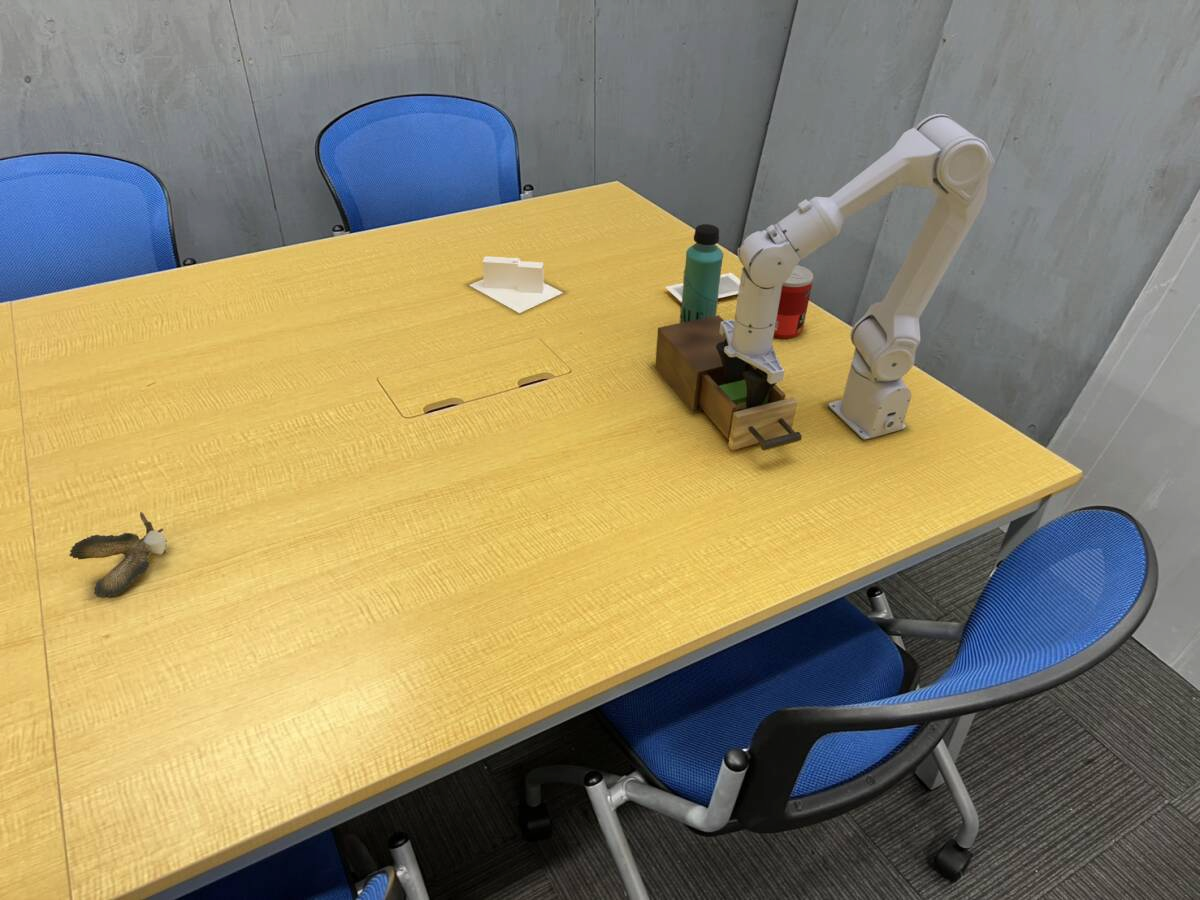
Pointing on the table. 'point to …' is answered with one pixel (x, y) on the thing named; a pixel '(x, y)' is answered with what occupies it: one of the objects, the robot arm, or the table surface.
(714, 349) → the cabinet
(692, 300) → the beverage bottle
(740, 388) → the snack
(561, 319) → the table surface
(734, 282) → the touchpad
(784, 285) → the canned food
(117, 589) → the eagle figurine
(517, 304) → the napkin holder
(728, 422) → the drawer
